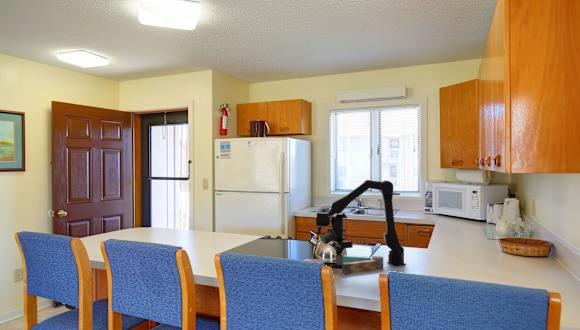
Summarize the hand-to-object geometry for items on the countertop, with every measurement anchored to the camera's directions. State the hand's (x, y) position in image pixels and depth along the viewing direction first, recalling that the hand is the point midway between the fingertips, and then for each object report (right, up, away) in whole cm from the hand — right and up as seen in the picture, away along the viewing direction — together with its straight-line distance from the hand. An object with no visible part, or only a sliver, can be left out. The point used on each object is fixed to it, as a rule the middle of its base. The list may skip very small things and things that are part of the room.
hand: (337, 259), depth 183 cm
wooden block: (+9, -2, -14) cm, 17 cm away
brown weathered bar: (+7, -1, -6) cm, 9 cm away
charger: (-13, -2, -19) cm, 23 cm away
